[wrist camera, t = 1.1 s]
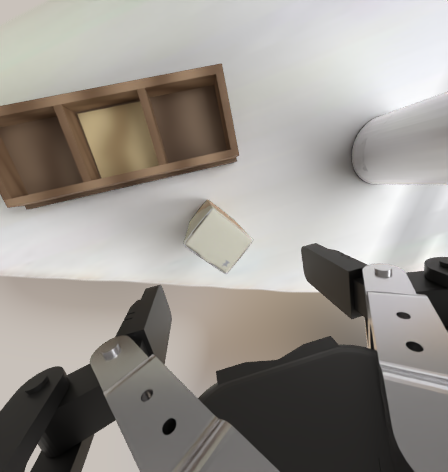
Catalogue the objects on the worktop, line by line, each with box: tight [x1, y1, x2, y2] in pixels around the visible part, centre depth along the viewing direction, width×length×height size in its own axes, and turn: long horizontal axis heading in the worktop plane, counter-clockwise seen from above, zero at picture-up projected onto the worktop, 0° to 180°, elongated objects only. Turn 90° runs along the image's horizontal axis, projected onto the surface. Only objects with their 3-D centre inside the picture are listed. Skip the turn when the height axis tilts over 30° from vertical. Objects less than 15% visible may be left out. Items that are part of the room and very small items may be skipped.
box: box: [183, 200, 253, 274], centre depth 24 cm, size 5×4×11 cm
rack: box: [0, 64, 239, 209], centre depth 23 cm, size 26×10×4 cm, turn 103°
